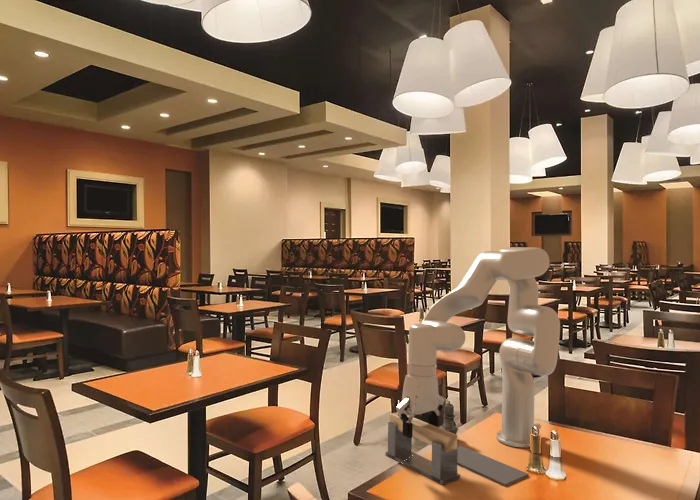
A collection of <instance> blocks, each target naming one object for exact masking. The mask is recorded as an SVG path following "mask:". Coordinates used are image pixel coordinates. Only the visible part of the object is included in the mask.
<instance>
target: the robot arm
mask: <svg viewBox="0 0 700 500" xmlns="http://www.w3.org/2000/svg"><path fill="white" fill-rule="evenodd" d="M549 267H550V257H549V255H548V252H546V251H545V249H542V248H541V247H532V246H530V247H525V246H524V247H522V246H521V247H520V246H513V247H512V246H511V247H509V246H508V247H503V248H501V249H499V250H485V251H483V252H480V253H479V254H478V255H477V256H476V258H475V259H474V260H473V261H472V264H471V265H470V267H469V268H468V270H467V271H466V273H465V274H464V276H463V278H462V279H461V280H460V282H459V283H458V285H457V287H456V288H454V289H453V290H451V291H449V292H448V293H447V294H446V295H444V296H442V297H441V298H440V299H439V300H437V301H436V302H434V303H433V305H432V306H431V307H429V308H430V309H428V310H427V312H426V314H425V315H424V317H423V319H422V320H421V322H420V323H413V324H412V325H410V327H409V328H408V329H409V330H408V355H407V356H408V357H407V358H408V359H407V360H408V362H407V374H406V375H405V376H404V377H405V378H404V381H403V388H402V397H401V402H400V403H399V404H397V406H396V407H395V410H396V412H397V413H398V416H399V417H400V418H401V420H402V421H403V431H402V434H403V436H406V437H408V438H412V439H413V437H412V431H413V424H412V423H411V421H412V419H413V418H415V416H417V415H421V414H426V413H428V416H427V417H428V418H427V423H429V424H431V425H434V426H436V427H439V416H441V411H442V410H443V407H444V406H443V405H444V403H445V397H444V396H442V395H440V394H439V381H438V374H437V368H438V365H437V351H438V352H439V351H442V352H443V351H445V352H455V351H457V350H459V349H461V348H462V347H463V346H464V344H465V341H466V333H465V331H464V330H463V328H462V327H461V326H460V325H458V324H455V323H450V322H448V321H449V320H450V319H451V318H453V317H454V316H456V315H458V314H460V313H463V312H466V311H470V310H473V309H475V308H477V307H480V306H481V305H483V303H484V302H485V300H486V298H487V297H488V295H489V293H490V292H491V290H492V288H493V287H494V285H495V284H496V282H497V281H505V282H507V283H508V286H509V287H508V288H509V296H508V297H509V299H508V309H507V326H508V329H509V330H510V331H511V332H513V333H515V334H519V335H523V336H524V335H525V336H528V337H533V338H534V340H530V339H524V338H520V337H510V338H506V339H505V340H504V341H503V342H502V343H501V345H500V347H499V351H498V352H499V353H498V354H499V356H498V357H499V361H500V366H501V377H502V386H501V387H502V388H501V389H502V390H501V391H502V392H501V430H499V431H498V432H497V433H496V435H495V436H496V440H497V441H499V442H500V443H501V444H503V445H506V446H509V447H515V448H522V449H523V448H524V449H525V448H526V449H527V448H530V447H529V445H530V434H531V429H532V427H534V426H537V427H538V428H539V430H541V428H542V425H541V423H539V422H538V423H535V385H536V384H535V381H534V378H533V375H536V376H542V377H546V376H549V375H551V374H552V373H554V372H555V369H556V367H557V363H558V358H559V357H558V356H559V347H560V335H561V320H560V318H559V317H560V316H559V315H558V313H557V311H555V310H554V309H553V308H551V307H550V306H549V307H548V306H543V305H539V286H538V283H537V280H536V278H537V277H541V276H543V275H544V274H545V273H546V272H547V271H548V269H549ZM532 374H533V375H532ZM407 415H408V416H409V417H407Z"/></svg>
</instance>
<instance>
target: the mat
mask: <svg viewBox="0 0 700 500" xmlns="http://www.w3.org/2000/svg"><path fill="white" fill-rule="evenodd" d="M457 466H459V467H461V468H463V469H466V470H469V471H470V472H472V473H474V474H477V475H479V476H481V477H484V478H485V479H488V480H490V481H491V482H494V483H496V484H498V485H500V486H502V487H507V486H510V485H512V484H514V483H516V482H519V481H521V480H523V479H525V478H528V477H529V476H530V475H529V473H528V472H525V471H522V470H520V469H518V468H516V467H513V466H512V465H509V464H507V463H503V462H501V461H499V460H497V459H493V458H491V457H490V456H487V455H485V454H482V453H479V452H478V451H477V452H476V451H475V450H473V449H470V448H468V447H465V446H462V445H458V457H457Z"/></svg>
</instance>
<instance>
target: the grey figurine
mask: <svg viewBox="0 0 700 500" xmlns="http://www.w3.org/2000/svg"><path fill="white" fill-rule="evenodd" d="M443 407H444V408H443V409H444V410H443V413H444V414H442V416H443V424H441V425H438V427H439V428H441V429H444V430H446V431H449V432H451V433H454V434H456V435H458V434H457V433H458V431H459V427H458V426H456V425H455V417H456V415H455V414H454V411H455V410H454V409H455V408H454V405H453V404H452V403H451V401H450V400H448V401H447V403H445V404H444V406H443Z"/></svg>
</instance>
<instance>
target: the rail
mask: <svg viewBox="0 0 700 500" xmlns="http://www.w3.org/2000/svg"><path fill="white" fill-rule="evenodd" d="M407 417H409V414H408V415H407ZM389 422H392V423H394V424H397V430H398V431H401V432H402V431H403V421H402V420H401V418H400V417H399V416H398V413H397V411H396V412H392V413H389ZM411 423H412V424H413V431H412V438H414V439H417V440H419V441H421V442H423V443H426V444H428V445H430V446H432V441H436V442H439V443H441V444H443V450H444V451H446V452H449V451H452V450H455V449H457V439H458V434H454V433H451V432H449V431H446V430H444V429H441V428H439V426H438V427H436V426H434V425H431V424H429V423H428V422H426V421H423V420H421V419H418V418H416V417H413V419H412V421H411Z"/></svg>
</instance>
